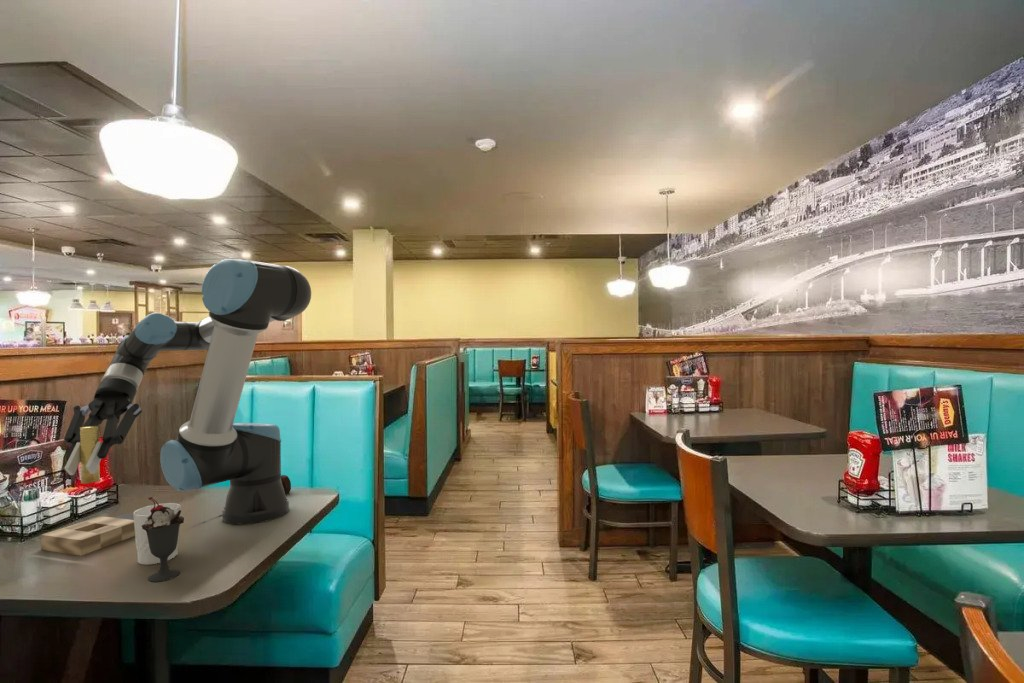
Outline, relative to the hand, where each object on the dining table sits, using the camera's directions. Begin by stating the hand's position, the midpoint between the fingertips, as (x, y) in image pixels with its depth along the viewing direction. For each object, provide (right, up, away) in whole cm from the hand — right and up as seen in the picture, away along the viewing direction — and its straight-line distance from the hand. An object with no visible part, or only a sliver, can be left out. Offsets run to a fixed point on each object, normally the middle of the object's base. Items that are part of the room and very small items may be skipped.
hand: (79, 470), depth 110 cm
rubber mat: (-4, -17, +17) cm, 24 cm away
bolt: (+21, -17, +35) cm, 45 cm away
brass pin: (-1, -3, +4) cm, 5 cm away
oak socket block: (0, -17, +4) cm, 17 cm away
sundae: (+27, -17, -13) cm, 34 cm away
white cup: (+20, -17, -5) cm, 26 cm away
